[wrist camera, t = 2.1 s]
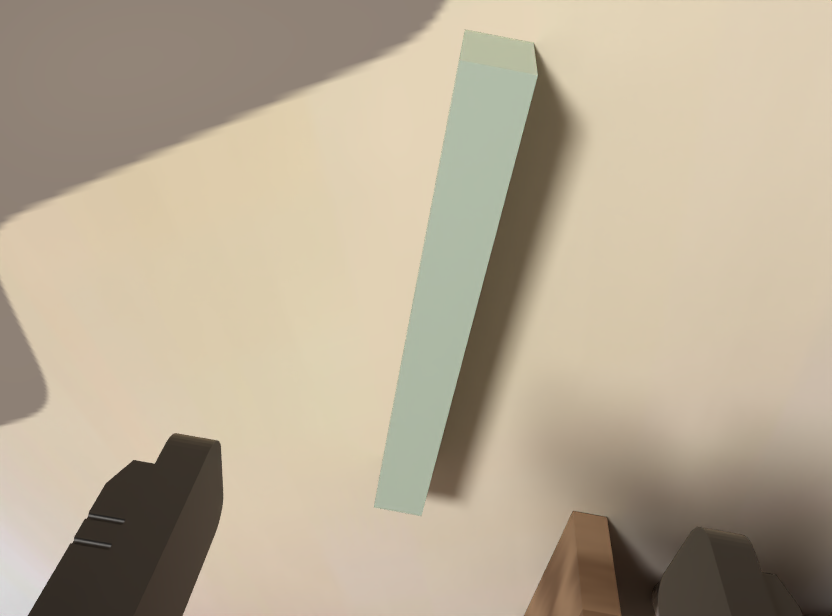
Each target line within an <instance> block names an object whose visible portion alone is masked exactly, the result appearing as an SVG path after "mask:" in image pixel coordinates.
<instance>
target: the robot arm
mask: <svg viewBox="0 0 832 616" xmlns="http://www.w3.org/2000/svg"><path fill="white" fill-rule="evenodd" d="M222 505H223V480H222V460H221V445H220V442H219V441H217V440H211V439H206V438H200V437H194V436H189V435H183V434H177V433H174V434H173V435H171V436H170V438H169V439H168V441H167V442H166V444H165V446H164V448H163V450H162V451H161V453H160V455H159V457H158V459H157V461H156V463H155V464H153V463H147V462H142V461H136V460H133V461H132V462H131V463H130V464H128V465H127V466H126V467H125V468H124V469H123V470H121V471H120V472H119V473H118V474H117V475H115V476H114V477H113V478H112V479H111V480H109V481H108V482H107V483H106V484H105V486H104V488H103V489H102V491H101V493H100V494H99V496H98V498H97V499H96V501H95V503H94V505H93V506H92V508H91V510H90V511H89V515H88V518H87V519H85V520H84V521H83V523H82V525H81V527H80V528H79V530H78V532H77V533H76V535H75V537H74V541H73V543H72V544H71V543H70V545H69V547H68V549H67V550H66V552H65V554H64V555H63V557H62V559H61V560H60V562H59V564H58V565H57V567H56V569H55V571H54V572H53V574H52V576H51V577H50V579H49V581H48V582H47V584H46V586H45V587H44V589H43V591H42V593H41V594H40V596H39V598H38V599H37V601H36V603H35V604H34V606H33V608H32V609H31V611H30V613H29V615H28V616H183V613H184V611H185V608H186V606H187V603H188V601H189V598H190V596H191V593H192V591H193V588H194V586H195V583H196V581H197V578H198V575H199V573H200V570H201V568H202V565H203V563H204V560H205V558H206V555H207V553H208V550H209V548H210V545H211V543H212V540H213V538H214V535H215V533H216V530H217V527H218V523H219V520H220V516H221V511H222ZM658 609H659V616H803V615H802V612H801V609H800V607H799V606H798V604H797V603H796V602H795V600H794V599H793V598H792V596H791V595H790V593H789V592H788V591H787V589H786V588H785V587H784V585H783V584H782V583H781V581H780V580H779V579H778V577H777V576H776V575H773V574H768V573H762V572H761V569H760V566H759V563H758V560H757V557H756V554H755V551H754V549H753V546H752V544H751V542H750V541H749V539H748V538H747V537H746V536H744V535H741V534H736V533H730V532H724V531H719V530H713V529H707V528H702V527H697V528H695V529H693V530H692V532H691V533H690V534H689V536H688V537H687V539H686V540H685V542H684V544H683V545H682V547H681V548H680V550H679V551H678V553H677V554H676V556H675V557H674V559H673V560H672V562H671V563H670V565H669V567H668V568H667V570H666V571H665V573H664V574H663V576H662V579H661V582H660V586H659V593H658Z"/></svg>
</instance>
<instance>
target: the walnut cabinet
mask: <svg viewBox="0 0 832 616" xmlns="http://www.w3.org/2000/svg"><path fill="white" fill-rule="evenodd" d="M524 616H621V610H620V603H619V597H618V590H617V583H616V576H615V569H614V563H613V556H612V549H611V542H610V535H609V529H608V522H607V517H603V516H597V515H591V514H586V513H580V512H575V511H573V512H572V514H571V516H570V518H569V521H568V523H567V525H566V527H565V529H564V531H563V533H562V536H561V538H560V540H559V542H558V544H557V546H556V548H555V551H554V553H553V555H552V557H551V559H550V561H549V563H548V566H547V568H546V570H545V572H544V574H543V576H542V578H541V581H540V583H539V585H538V587H537V589H536V591H535V593H534V596H533V598H532V600H531V602H530V604H529V606H528V608H527V611H526V613H525V615H524ZM829 616H832V613H831V614H830V615H829Z"/></svg>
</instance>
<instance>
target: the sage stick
mask: <svg viewBox="0 0 832 616" xmlns="http://www.w3.org/2000/svg"><path fill="white" fill-rule="evenodd" d="M537 77H538V72H537V65H536V57H535V50H534V43H532V42H527V41H522V40H517V39H512V38H506V37H501V36H496V35H491V34H486V33H480V32H475V31H470V30H465V32H464V37H463V42H462V48H461V53H460V58H459V63H458V68H457V74H456V79H455V84H454V89H453V95H452V100H451V105H450V110H449V115H448V121H447V126H446V131H445V136H444V142H443V147H442V152H441V157H440V163H439V168H438V173H437V178H436V183H435V189H434V194H433V199H432V204H431V210H430V215H429V220H428V225H427V231H426V236H425V241H424V246H423V251H422V257H421V262H420V267H419V272H418V278H417V283H416V288H415V293H414V299H413V304H412V309H411V314H410V319H409V325H408V330H407V335H406V340H405V346H404V351H403V356H402V361H401V367H400V372H399V377H398V382H397V387H396V393H395V398H394V403H393V408H392V414H391V419H390V424H389V429H388V435H387V440H386V445H385V450H384V456H383V461H382V466H381V472H380V477H379V483H378V488H377V493H376V499H375V504H374V507H375V508H380V509H386V510H391V511H396V512H402V513H407V514H413V515H418V516H422V512H423V508H424V504H425V501H426V497H427V493H428V489H429V485H430V482H431V478H432V474H433V470H434V466H435V463H436V459H437V455H438V451H439V448H440V444H441V440H442V436H443V432H444V429H445V425H446V421H447V417H448V414H449V410H450V406H451V402H452V398H453V395H454V391H455V387H456V383H457V379H458V376H459V372H460V368H461V364H462V361H463V357H464V353H465V349H466V345H467V342H468V338H469V334H470V330H471V327H472V323H473V319H474V315H475V311H476V308H477V304H478V300H479V296H480V293H481V289H482V285H483V281H484V277H485V274H486V270H487V266H488V262H489V258H490V255H491V251H492V247H493V243H494V240H495V236H496V232H497V228H498V224H499V221H500V217H501V213H502V209H503V206H504V202H505V198H506V194H507V190H508V187H509V183H510V179H511V175H512V171H513V168H514V164H515V160H516V156H517V153H518V149H519V145H520V141H521V137H522V134H523V130H524V126H525V122H526V119H527V115H528V111H529V107H530V103H531V100H532V96H533V92H534V88H535V84H536V81H537Z"/></svg>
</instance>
